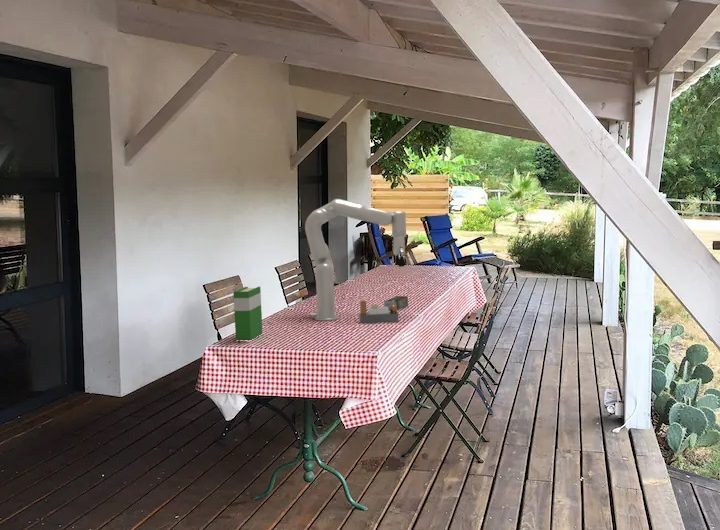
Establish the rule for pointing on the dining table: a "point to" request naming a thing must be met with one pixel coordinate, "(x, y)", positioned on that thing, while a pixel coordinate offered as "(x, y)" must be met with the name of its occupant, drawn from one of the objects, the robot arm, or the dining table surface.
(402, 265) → the robot arm
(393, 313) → the plane body
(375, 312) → the white box
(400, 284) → the dining table surface
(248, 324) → the green cereal box
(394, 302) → the beverage carton
